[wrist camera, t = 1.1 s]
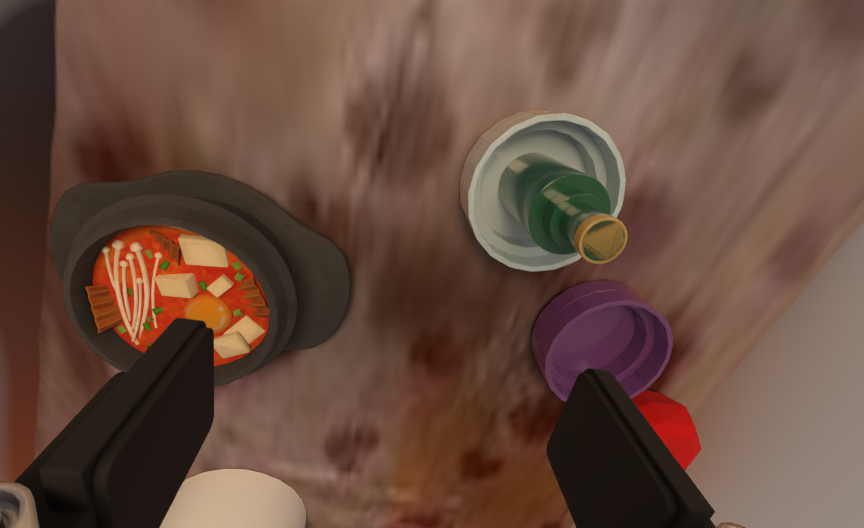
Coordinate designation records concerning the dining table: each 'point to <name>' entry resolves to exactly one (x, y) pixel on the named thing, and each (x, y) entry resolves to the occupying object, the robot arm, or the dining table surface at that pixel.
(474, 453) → the dining table surface
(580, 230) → the bottle
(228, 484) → the cylinder
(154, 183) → the casserole
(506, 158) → the pale bowl
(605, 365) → the plum bowl
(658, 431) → the apple
